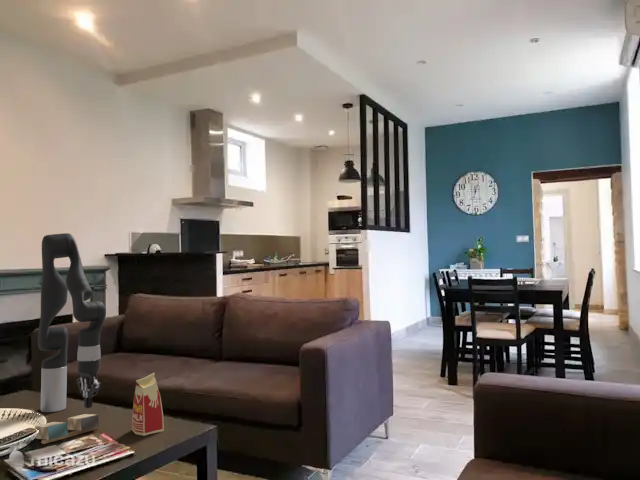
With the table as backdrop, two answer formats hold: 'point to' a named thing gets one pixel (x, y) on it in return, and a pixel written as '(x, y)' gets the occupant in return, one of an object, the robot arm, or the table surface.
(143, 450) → the table surface
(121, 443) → the table surface
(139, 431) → the milk carton
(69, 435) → the strip
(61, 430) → the teal-foot block
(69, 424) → the pale wooden block
